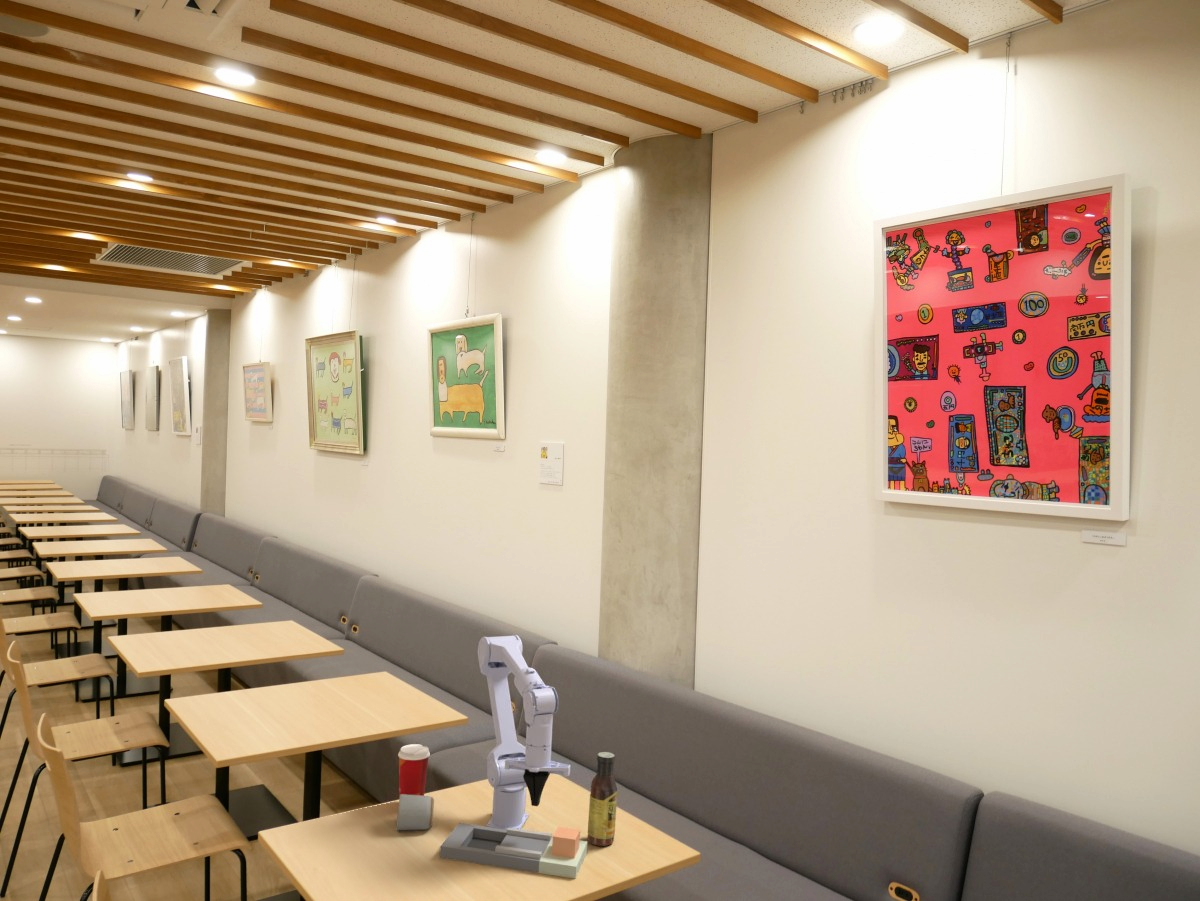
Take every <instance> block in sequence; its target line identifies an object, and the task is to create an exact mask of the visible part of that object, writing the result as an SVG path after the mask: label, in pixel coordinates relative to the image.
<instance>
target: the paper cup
mask: <svg viewBox="0 0 1200 901" xmlns="http://www.w3.org/2000/svg"><path fill="white" fill-rule="evenodd" d="M429 749H430V748H429V747H428V746H425V745H422V744H418V743H417V744H416V743H413V744H412V743H411V744H406V745H403V746H401V747H400V748H399V752H398V754H397V756H398V759H399V760H398V761H399V762H398V763H399V764H398V765H399V768H398V770H399V772H398V773H399V774H398V777H399V780H398V783H399V784H398V793H399V795H398V798H400V794H406V795H419V796H425V789H426V783H427V774H428V765H429V757H430V756H431V753H430V750H429Z"/></svg>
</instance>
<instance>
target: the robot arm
mask: <svg viewBox="0 0 1200 901" xmlns="http://www.w3.org/2000/svg"><path fill="white" fill-rule="evenodd" d="M477 659H478V665H479V670H480V674H482V675H483V676H486V680H487V687H488V688H487V689H488V693H489V701H490V702H489V703H490V707H491V714H492V722H493V728H494V735H495V742H496V745H495V746H494V748H492V750H491V751H490V752H489V753H488V755H487V757H486V761H487V762H486V765H487V767H486V775H487V776H486V777H487V781H488V783H489V785H490V786H491V787H492V788H493V797H492V815H491V818H490V819H489V821H488V822H487V823H486V826H485V827H492V828H498V829H505V830H507V829H508V828H516V829H523V826H524V824H525V823H526V821H527V820H528V818H529V816H530V814H529V813H526V806H527V805H526V804H527V789H528V793H529V797H530V798H529V799H530V805H531V806H532V807H538V806H539V805H540V803H541V798H542V793H543V791H544V787H545V786H546V783H547V781H548V779H549V777H550V775H552V774H553V775H562V776H564V777H567V778H568V777H570V774H571V764H567V763H562V762H557V761H554V760H552V741H553V721H554V714H556V713H557V712H558V710H559V696H558V693H557V690H556V688H555V687H554V686H550V685H546V684H545V682H544V681H543V680H542V678H541V676H540V675H539V673H538V671H536V669H535V668H532V667H529V666H528V664H527V662H526V660H525V658H524V655H523V642H522V640H521V638H520V636H519V635H518V634H513V635H502V636H482V637H481V638H480V640H479V641H478V645H477ZM511 673H512V674H513V675H514V678H513V683H514V686H515V688H516V689H517V691H518V693H519V694H520V696H521V697H522V706H523V710H524V721H525V723H526V730H525V731H526V733H525V746H524V745H523V744H522V743H520V742H518V739H517V733H516V731H517V730H516V726H515V725H516V724H515V719H514V713H513V706H512V701H511V694H510V693H511V692H510V688H509V687H510V686H509V681H508V677H509V675H510V674H511Z"/></svg>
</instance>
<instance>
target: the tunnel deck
mask: <svg viewBox="0 0 1200 901" xmlns="http://www.w3.org/2000/svg"><path fill="white" fill-rule="evenodd" d="M552 842H553V834H552V833H549V832H544V831H543V832H542V831H537V830H529V829H523V828H521V829H516V828H508V829H507V830H505V829H498V828H492V827H486V826H483V825H477V824H471V823H462V822H459V823H457V825H456V826H455V828H454V829H453V830H452V831H451V832H450V834H449V835H448V836H447V837H446V838H445V840H444V841H443V842H442V844H441V845H440V848H439V850H440V851H439V858H440V859H446V860H452V861H457V862H458V861H459V862H465V863H473V864H479V865H486V866H490V867H499V868H503V869H505V868H506V869H511V870H517V871H523V872H531V873H537V874H544V875H551V876H556V877H563V878H569V879H577V877H578V873H579V871H580V869H581V866H582V865H583V862H584V860H585V858H586V856H587V853H588V841H587V840H582V839H580V843H579V849H578V852H577V854H576V856H575V858H569V857H562V856H555V855H552Z"/></svg>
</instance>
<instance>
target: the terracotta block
mask: <svg viewBox="0 0 1200 901" xmlns="http://www.w3.org/2000/svg"><path fill="white" fill-rule="evenodd" d="M552 836H553V842H552V855H555V856H562V857H569V858H575V856H576V854H577V852H578V849H579V843H580V840H581V829H579V828H578V829H577V828H570V827H565V826H557V828H556V830H555V831H554V833H553V834H552Z"/></svg>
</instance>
